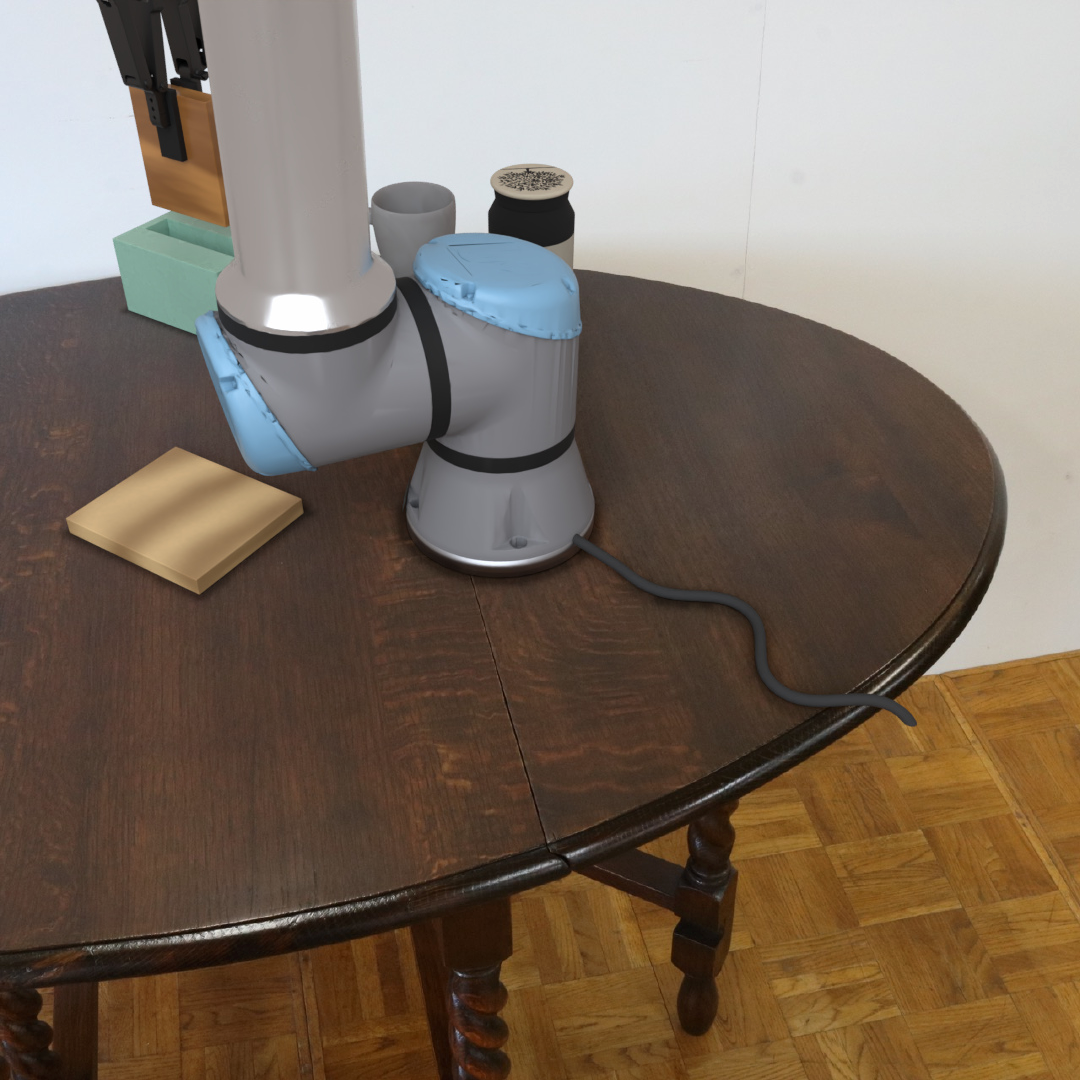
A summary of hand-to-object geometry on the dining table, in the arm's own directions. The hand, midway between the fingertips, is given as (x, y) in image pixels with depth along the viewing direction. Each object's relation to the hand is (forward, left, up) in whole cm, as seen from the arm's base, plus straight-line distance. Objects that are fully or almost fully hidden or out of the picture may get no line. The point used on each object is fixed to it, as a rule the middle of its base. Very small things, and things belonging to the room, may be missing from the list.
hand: (184, 153), depth 114 cm
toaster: (0, 0, -17) cm, 17 cm away
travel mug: (-33, -10, -17) cm, 38 cm away
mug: (-13, -16, -17) cm, 27 cm away
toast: (0, 0, -6) cm, 6 cm away
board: (-24, +28, -17) cm, 40 cm away
